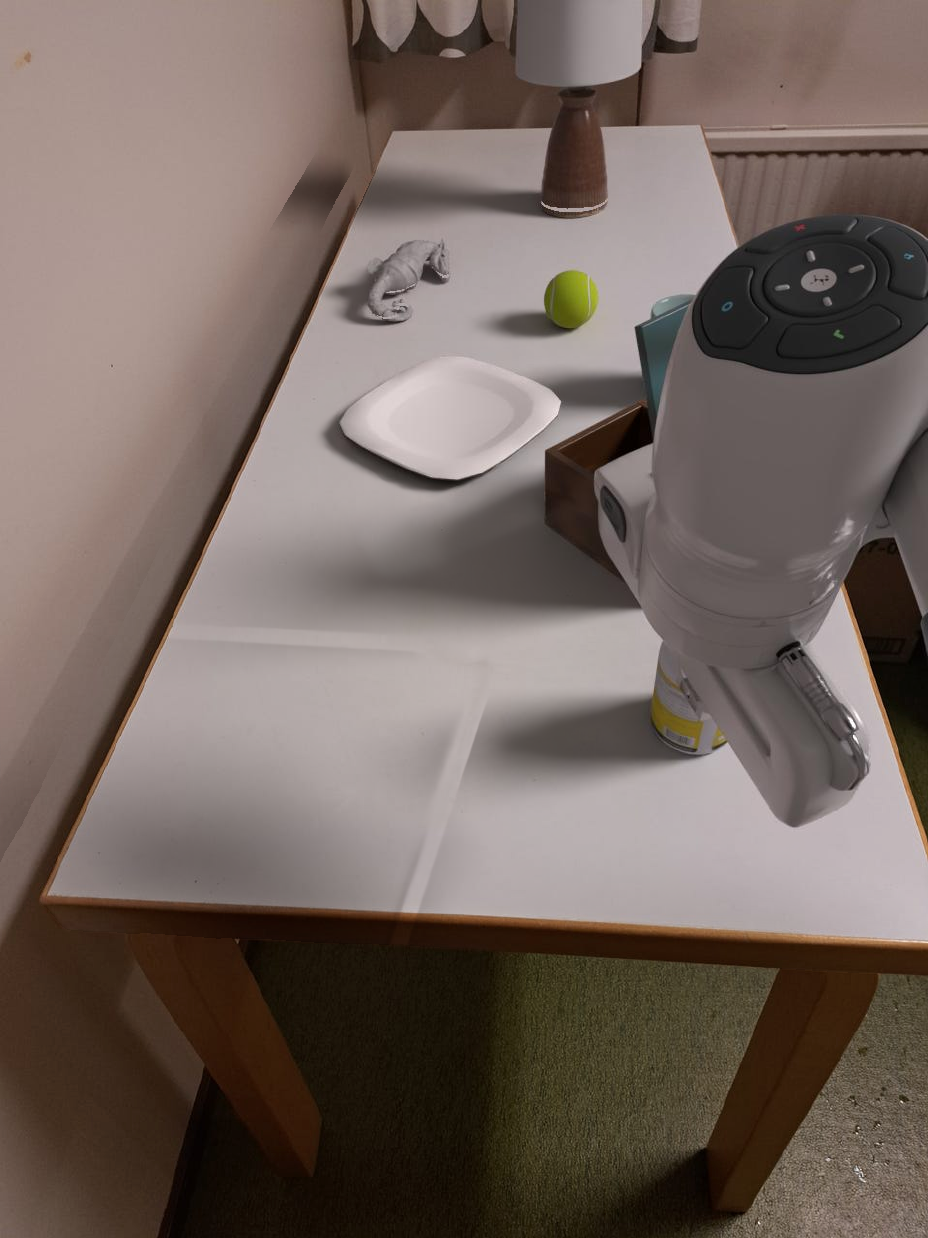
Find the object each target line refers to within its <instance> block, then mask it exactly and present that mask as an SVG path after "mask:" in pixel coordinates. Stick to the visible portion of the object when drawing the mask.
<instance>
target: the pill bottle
mask: <svg viewBox="0 0 928 1238" xmlns="http://www.w3.org/2000/svg"><path fill="white" fill-rule="evenodd" d="M655 671H656V672H655V678H654V686H653V690H652V691H653V692H652V700H651V705H650V706H651V707H650V722H651V726H652V729H653V731H654V733H655V734H656V736H657V737H658V739H660V740H661V741H662V742H663V743H664V744H665V745H666V746H668V747H670V748H671V749H673V750H676V751H677V752H681V753H683V754H688V755H707V754H712V753H714V752H717V751H718V750H721V749H722V748H723V747H725V746H726V745H727V744H729V743H728V742H727V740H726V739H725V737H724V736H723V734H722V732H721V731H720V729H719V728H718V726H717V725H716V723H715V721H714V720H713V718H712V717H711V718H709V719H707V720H704V721H700V720H699V718H698V717H697V715H696V713H695V712H694V710H693V709H692V707H691V705H690V704H689V702H688V700H687V699H686V697H685V696H684V694H683V693H682V691H681V690H680V688H679V686H678V685H677V683H676V682H675V681H676V676H677V669H676V666H675V663H674V660H673V656H672V654H671V652H670V651H669V649H668V647H667V646H666V644H665V643H664V641H663V640H662V642H661V644H660V646H659V650H658V657H657V665H656V670H655Z"/></svg>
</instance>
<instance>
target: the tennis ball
mask: <svg viewBox="0 0 928 1238" xmlns="http://www.w3.org/2000/svg"><path fill="white" fill-rule="evenodd" d="M598 303H599V294H598V288H597V285H596V283H595V282H594V280H593V279H592V277H590V276H589V275H588V274H586V273H585V272H583V271H580V270H574V269H572V270H565V271H561V272H559V273H558V274H556V275H555V276H554V277H552V278H551V280H549V283H548V284H547V286H546V288H545V291H544V295H543V306H544V310H545V312H546V315H547V317H548V318H549V320H551V321H552V322H553V323H554V324H555V325H556V326H559V327H561V328H563V329H564V328H565V329H575V328H579V327H581V326H583V325H585V324H586V323H587V322H589V321H590V320H591V319H592V317H593V316H594V314H595V312H596V310H597V308H598Z"/></svg>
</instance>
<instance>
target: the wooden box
mask: <svg viewBox="0 0 928 1238" xmlns="http://www.w3.org/2000/svg"><path fill="white" fill-rule="evenodd" d="M652 443H653V436H652V430H651V424H650V418H649V412H648V406H647V400H645V399H640V400H638V401H636V402H634V403H633V404H631V405H629V406H627V407H625V408H623V409H621V410H619V411H617V412H615V413H613V414H612V415H609V416H608V417H606V418H603V419H602V420H600V421H598V422H596V423H594V424H593V425H591V426H588V427H587V428H585V429H583V430H581V431H579V432H577V433H575V434H573V435H571V436H569V437H568V438H566V439H564V440H562V441H560V442H558V443H556V444H554V445H552V446H551V447H548V448H546V449H545V450H544V524H545V525H547V526H548V527H549V528H551V529H552V530H553V531H555V532H556V533H557V534H559V535H560V536H561V537H563V538H564V539H565V540H567V541H569V543H571V544H572V545H574V546H575V547H576V548H577V549H579V550H580V551H582V552H583V553H584V554H586V555H587V556H588V557H590V558H591V559H592V560H594V561H595V562H597V563H598V564H599V565H601V566H602V567H604V568H605V569H606V570H607V571H609V572H610V573H612V574H613V575H614V576H616V577H617V578H618V579H620V580H621V581H622V582H624V583H625V584H627V583H626V581H625V580H624V578H623V577H622V575H621V573H620V572H619V570H618V569H617V567H616V566H615V564H614V563H613V561H612V560H611V558H610V557H609V555H608V553H607V551H606V549H605V547H604V544H603V542H602V539H601V536H600V532H599V522H598V499H597V497H596V495H595V489H594V474H595V471H596V470H597V469H599V468H601V467H602V466H604V465H606V464H608V463H610V462H612V461H614V460H616V459H618V458H620V457H622V456H624V455H626V454H628V453H631V452H633V451H635V450H637V449H640V448H642V447H645V446H647V445H650V444H652Z"/></svg>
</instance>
